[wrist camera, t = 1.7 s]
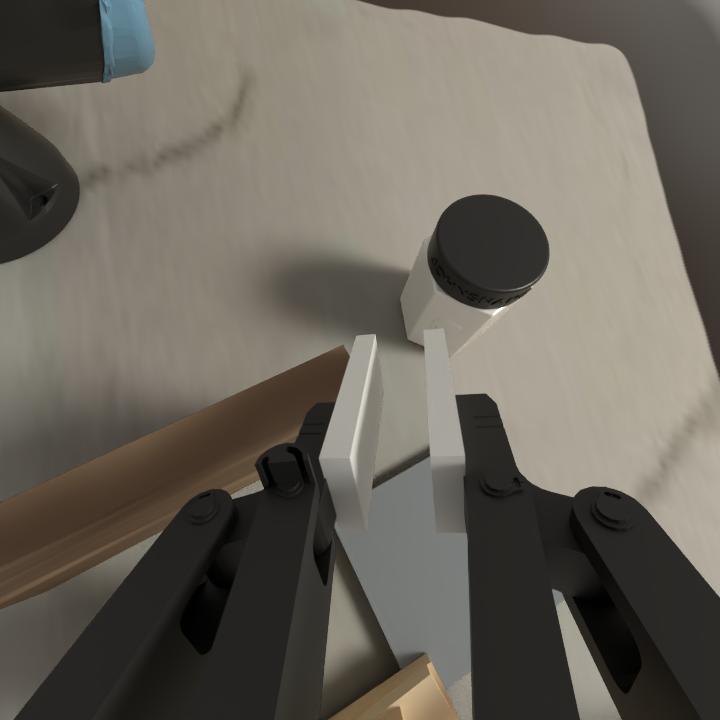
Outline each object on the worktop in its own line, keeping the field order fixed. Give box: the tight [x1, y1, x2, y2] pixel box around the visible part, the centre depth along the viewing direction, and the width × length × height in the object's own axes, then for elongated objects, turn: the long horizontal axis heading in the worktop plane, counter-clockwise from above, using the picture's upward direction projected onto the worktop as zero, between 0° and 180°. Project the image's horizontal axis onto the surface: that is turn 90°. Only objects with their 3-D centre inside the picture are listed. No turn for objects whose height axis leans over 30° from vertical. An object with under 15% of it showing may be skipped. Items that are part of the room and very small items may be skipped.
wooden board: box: [0, 345, 350, 609], centre depth 21 cm, size 4×24×17 cm, turn 118°
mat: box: [334, 456, 564, 690], centre depth 29 cm, size 14×14×1 cm
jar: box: [400, 194, 549, 357], centre depth 30 cm, size 9×8×12 cm
